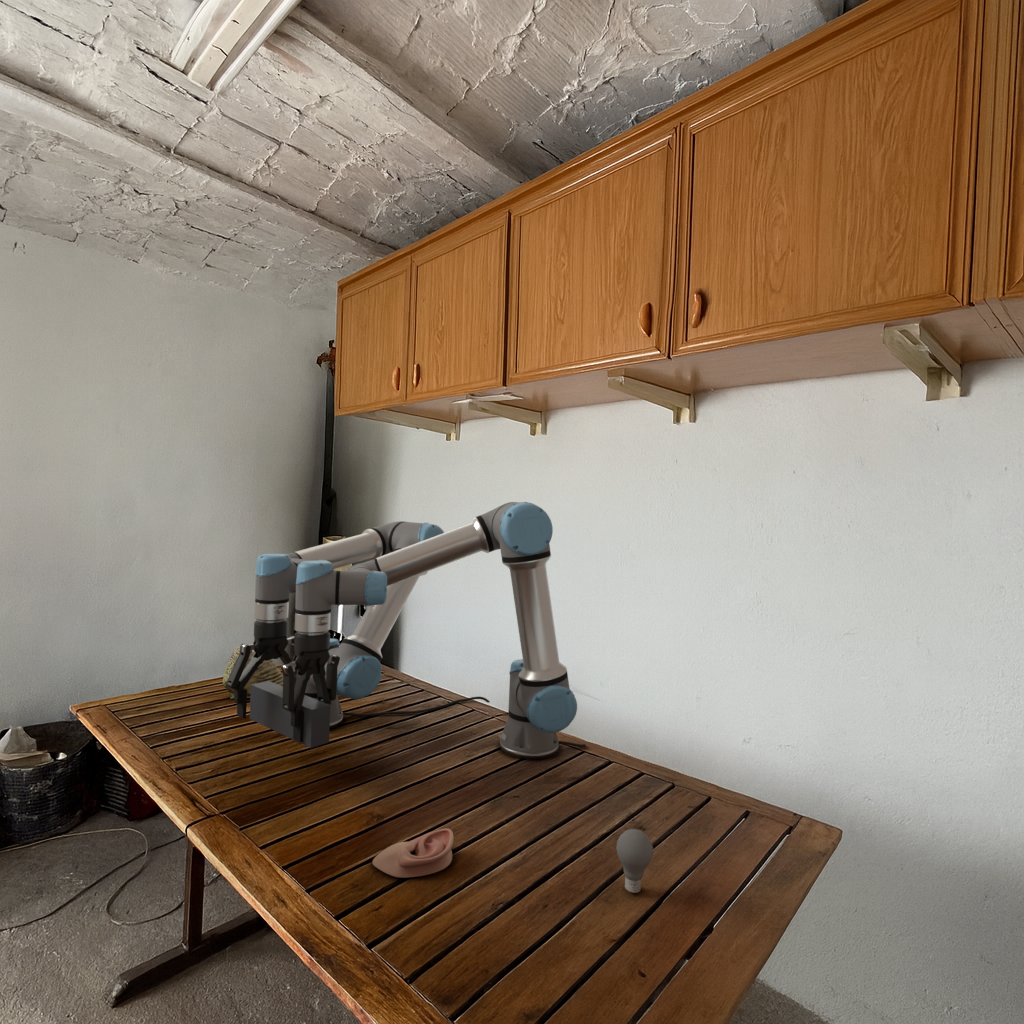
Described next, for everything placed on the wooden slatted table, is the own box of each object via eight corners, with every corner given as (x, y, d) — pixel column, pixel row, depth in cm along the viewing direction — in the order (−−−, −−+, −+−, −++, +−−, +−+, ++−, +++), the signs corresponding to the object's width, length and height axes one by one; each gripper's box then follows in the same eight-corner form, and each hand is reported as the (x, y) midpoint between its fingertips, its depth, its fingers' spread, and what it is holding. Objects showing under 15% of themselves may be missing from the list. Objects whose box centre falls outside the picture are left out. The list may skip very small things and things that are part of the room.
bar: (249, 718, 151) (250, 684, 150) (267, 714, 154) (268, 680, 154) (310, 748, 135) (312, 710, 135) (329, 742, 138) (330, 705, 138)
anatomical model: (365, 849, 107) (391, 816, 119) (364, 872, 107) (390, 837, 119) (440, 861, 105) (459, 827, 116) (439, 885, 105) (459, 848, 116)
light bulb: (610, 879, 108) (613, 822, 108) (644, 879, 109) (647, 822, 109) (619, 902, 102) (622, 840, 102) (655, 901, 103) (658, 840, 103)
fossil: (218, 695, 195) (220, 647, 195) (278, 685, 208) (279, 640, 207) (228, 703, 189) (230, 653, 188) (289, 692, 201) (290, 645, 201)
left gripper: (228, 629, 137) (225, 727, 138) (325, 616, 156) (322, 702, 157) (211, 623, 142) (208, 718, 142) (307, 611, 161) (304, 695, 161)
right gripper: (285, 640, 130) (281, 753, 130) (356, 629, 143) (352, 731, 144) (265, 634, 134) (262, 743, 135) (336, 623, 148) (332, 722, 148)
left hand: (268, 710), depth 150 cm, fingers open, 12 cm apart
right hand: (308, 736), depth 139 cm, fingers closed on bar, 5 cm apart
